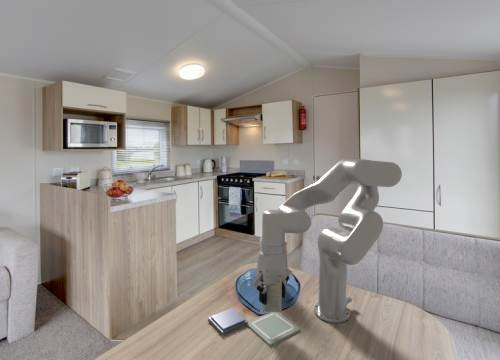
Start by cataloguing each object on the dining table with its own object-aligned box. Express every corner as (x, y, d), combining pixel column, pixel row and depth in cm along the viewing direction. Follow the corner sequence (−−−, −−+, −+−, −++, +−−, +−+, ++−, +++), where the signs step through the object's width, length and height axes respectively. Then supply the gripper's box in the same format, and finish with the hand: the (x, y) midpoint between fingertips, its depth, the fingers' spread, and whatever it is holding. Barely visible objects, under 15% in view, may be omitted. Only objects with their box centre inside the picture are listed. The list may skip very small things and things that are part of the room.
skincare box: (281, 305, 96) (282, 271, 95) (281, 313, 92) (282, 277, 91) (262, 304, 97) (263, 270, 96) (262, 311, 92) (263, 276, 91)
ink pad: (232, 311, 105) (232, 306, 105) (248, 324, 97) (248, 319, 96) (208, 320, 99) (208, 315, 99) (222, 335, 91) (222, 330, 91)
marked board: (274, 311, 104) (275, 310, 104) (300, 330, 94) (300, 328, 94) (245, 324, 97) (245, 322, 97) (270, 346, 86) (270, 344, 86)
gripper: (285, 240, 100) (284, 287, 102) (244, 249, 90) (244, 302, 92) (300, 246, 94) (299, 296, 96) (259, 257, 84) (258, 313, 86)
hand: (272, 299), depth 94 cm, fingers closed on skincare box, 7 cm apart
